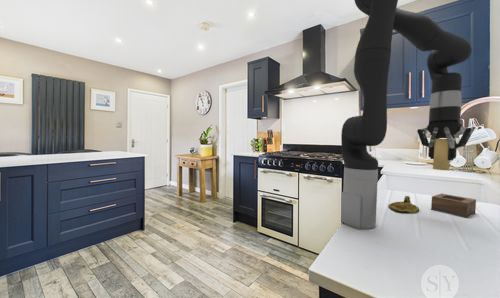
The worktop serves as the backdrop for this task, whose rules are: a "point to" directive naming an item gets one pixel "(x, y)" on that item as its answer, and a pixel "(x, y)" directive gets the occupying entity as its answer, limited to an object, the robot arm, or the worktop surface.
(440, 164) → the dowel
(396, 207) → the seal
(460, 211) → the socket block
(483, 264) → the worktop surface
